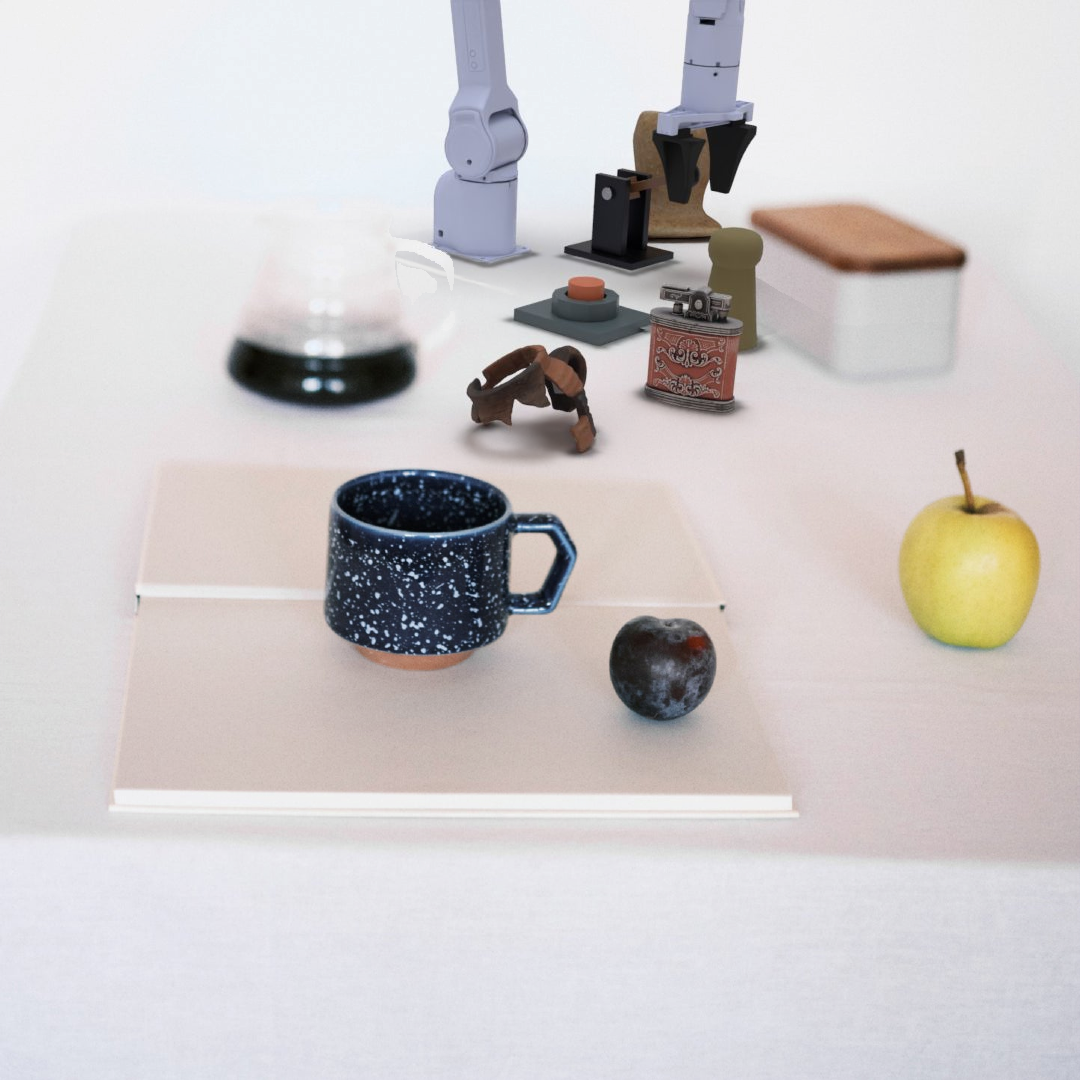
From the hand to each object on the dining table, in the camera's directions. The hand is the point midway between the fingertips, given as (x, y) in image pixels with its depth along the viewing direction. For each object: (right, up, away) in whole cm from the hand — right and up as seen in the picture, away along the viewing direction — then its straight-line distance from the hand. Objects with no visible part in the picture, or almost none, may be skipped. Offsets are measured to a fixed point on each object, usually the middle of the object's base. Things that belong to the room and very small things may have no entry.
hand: (699, 197), depth 147 cm
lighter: (-4, -25, -28) cm, 37 cm away
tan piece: (-2, +1, +24) cm, 25 cm away
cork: (+1, -17, -13) cm, 22 cm away
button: (-13, -13, -11) cm, 21 cm away
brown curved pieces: (-17, -28, -36) cm, 48 cm away
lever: (-4, +2, +7) cm, 8 cm away
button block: (-13, -15, -9) cm, 22 cm away
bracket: (-8, -4, +13) cm, 16 cm away
